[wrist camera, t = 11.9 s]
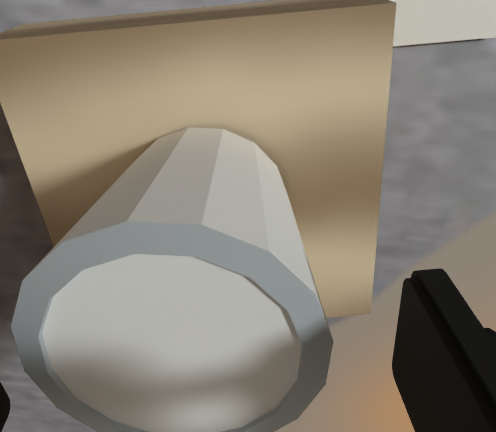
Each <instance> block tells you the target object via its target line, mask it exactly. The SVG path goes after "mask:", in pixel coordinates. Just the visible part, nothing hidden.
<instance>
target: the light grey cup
mask: <svg viewBox="0 0 496 432" xmlns="http://www.w3.org/2000/svg"><path fill="white" fill-rule="evenodd" d="M11 329H12V332H13V335H14V339H15V342H16V345H17V348H18V352H19V355H20V358H21V361H22V364H23V368H24V371H25V372H26V373H27V374H28V375H29V377H30V378H31V379H32V380H33V381H34V382H35V383H36V384H37V386H38V387H39V388H40V389H41V390H42V391H43V392H44V393H45V395H46V396H47V397H48V398H49V399H50V400H51V401H52V403H53V404H54V405H55V406H56V407H57V408H58V409H60V410H62V411H63V412H65V413H67V414H68V415H70V416H72V417H74V418H75V419H77V420H79V421H80V422H82V423H84V424H85V425H87V426H89V427H90V428H92V429H94V430H96V431H97V432H274V431H276V430H278V429H280V428H282V427H283V426H285V425H287V424H289V423H291V422H293V421H294V420H296V419H298V418H299V416H300V415H301V414H302V413H303V411H304V410H305V409H306V408H307V407H308V405H309V404H310V403H311V402H312V400H313V399H314V398H315V397H316V396H317V394H318V393H319V392H320V390H321V389H322V388H323V387H324V386H325V384H326V378H327V373H328V367H329V362H330V357H331V351H332V345H333V339H332V336H331V332H330V329H329V326H328V322H327V319H326V316H325V313H324V310H323V306H322V303H321V300H320V297H319V294H318V290H317V287H316V284H315V281H314V278H313V274H312V271H311V268H310V265H309V262H308V258H307V255H306V252H305V249H304V246H303V242H302V239H301V236H300V233H299V230H298V226H297V223H296V220H295V217H294V214H293V210H292V207H291V204H290V201H289V198H288V194H287V192H286V189H285V186H284V184H283V181H282V178H281V175H280V173H279V170H278V167H277V165H276V164H275V163H274V162H273V161H272V160H271V159H270V158H269V157H268V156H267V155H266V154H265V153H264V152H263V151H262V150H261V149H260V148H259V147H258V146H257V145H256V144H255V143H254V142H252V141H250V140H247V139H245V138H243V137H241V136H238V135H236V134H234V133H231V132H229V131H227V130H225V129H215V128H192V127H188V128H186V129H183V130H180V131H177V132H174V133H172V134H169V135H166V136H163V137H161V138H158V139H157V140H156V141H155V142H154V143H153V144H152V145H151V146H150V147H148V148H147V149H146V150H145V151H144V152H143V153H142V154H141V155H140V156H139V157H138V158H137V159H136V160H135V161H134V162H133V163H132V164H131V166H130V167H129V168H128V169H127V170H126V171H125V172H124V173H123V174H122V175H121V176H120V177H119V178H118V179H117V180H116V181H115V183H114V184H113V185H112V186H111V187H110V188H109V189H108V190H107V191H106V192H105V193H104V194H103V195H102V196H101V197H100V199H99V200H98V201H97V202H96V203H95V204H94V205H93V206H92V207H91V208H90V209H89V210H88V211H87V212H86V213H85V214H84V216H83V217H82V218H81V219H80V220H79V221H78V222H77V223H76V224H75V225H74V226H73V227H72V228H71V229H70V230H69V232H68V233H67V234H66V235H65V236H64V237H63V238H62V239H61V240H60V241H59V242H58V243H57V244H56V245H55V246H54V247H53V249H52V250H51V251H50V252H49V253H48V254H47V255H46V256H45V257H44V258H43V259H42V260H41V261H40V262H39V263H38V265H37V266H36V267H35V268H34V269H33V270H32V271H31V272H30V273H29V274H28V275H27V276H26V277H25V278H24V279H23V280H22V284H21V288H20V292H19V296H18V300H17V304H16V308H15V312H14V316H13V320H12V324H11Z"/></svg>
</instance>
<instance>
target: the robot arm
mask: <svg viewBox="0 0 496 432" xmlns="http://www.w3.org/2000/svg"><path fill="white" fill-rule="evenodd" d="M392 370H393V375H394V379H395V382H396V385H397V387H398V389H399V392H400V395H401V397H402V400H403V402H404V404H405V407H406V410H407V412H408V415H409V417H410V420H411V423H412V425H413V427H414V430H415V432H496V332H495V331H493V330H492V329H490V328H483V326H482V325H481V323H480V322H479V320H478V319H477V318H476V316H475V315H474V313H473V312H472V310H471V309H470V307H469V306H468V304H467V303H466V301H465V300H464V298H463V297H462V295H461V294H460V292H459V291H458V289H457V288H456V286H455V285H454V284H453V282H452V281H451V279H450V278H449V276H448V275H447V273H446V272H445V271H444V270H443V269H430V270H419V271H414V272H413V273H412V275H411V278H407V279H405V280H404V282H403V288H402V295H401V303H400V310H399V317H398V324H397V332H396V339H395V347H394V353H393V360H392ZM9 412H10V399H9V397H8V395H7V393H6V391H5V390H4V388H3V386H2V384H1V383H0V432H1V431H2V429H3V426H4V424H5V422H6V420H7V418H8V415H9Z"/></svg>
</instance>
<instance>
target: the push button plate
mask: <svg viewBox="0 0 496 432" xmlns="http://www.w3.org/2000/svg"><path fill="white" fill-rule="evenodd" d="M389 1H392V2H396V14H395V26H394V38H393V46H403V45H415V44H426V43H437V42H448V41H460V40H471V39H482V38H494V37H495V36H496V0H389Z"/></svg>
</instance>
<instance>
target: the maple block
mask: <svg viewBox="0 0 496 432" xmlns="http://www.w3.org/2000/svg"><path fill="white" fill-rule="evenodd" d="M395 14H396V2H392V1H389V0H277V1H266V2H255V3H245V4H234V5H223V6H212V7H202V8H191V9H180V10H169V11H158V12H148V13H137V14H126V15H115V16H105V17H94V18H83V19H72V20H62V21H51V22H40V23H29V24H23V25H20V26H17V27H15V28H12V29H10V30H7V31H4V32H2V33H0V103H1V106H2V109H3V111H4V114H5V117H6V119H7V122H8V125H9V127H10V130H11V133H12V136H13V138H14V141H15V144H16V146H17V149H18V152H19V154H20V157H21V160H22V163H23V165H24V168H25V171H26V173H27V176H28V179H29V181H30V184H31V187H32V190H33V192H34V195H35V198H36V200H37V203H38V206H39V208H40V211H41V214H42V217H43V219H44V222H45V225H46V227H47V230H48V233H49V235H50V238H51V241H52V243H53V246H55V245H56V244H57V243H58V242H59V241H60V240H61V239H62V238H63V237H64V236H65V235H66V234H67V233H68V232H69V230H70V229H71V228H72V227H73V226H74V225H75V224H76V223H77V222H78V221H79V220H80V219H81V218H82V217H83V216H84V214H85V213H86V212H87V211H88V210H89V209H90V208H91V207H92V206H93V205H94V204H95V203H96V202H97V201H98V200H99V199H100V197H101V196H102V195H103V194H104V193H105V192H106V191H107V190H108V189H109V188H110V187H111V186H112V185H113V184H114V183H115V181H116V180H117V179H118V178H119V177H120V176H121V175H122V174H123V173H124V172H125V171H126V170H127V169H128V168H129V167H130V166H131V164H132V163H133V162H134V161H135V160H136V159H137V158H138V157H139V156H140V155H141V154H142V153H143V152H144V151H145V150H146V149H147V148H148V147H150V146H151V145H152V144H153V143H154V142H155V141H156V140H157V139H158V138H161V137H163V136H166V135H169V134H172V133H174V132H177V131H180V130H183V129H186V128H188V127H192V128H215V129H225V130H227V131H229V132H231V133H234V134H236V135H238V136H241V137H243V138H245V139H247V140H250V141H252V142H254V143H255V144H256V145H257V146H258V147H259V148H260V149H261V150H262V151H263V152H264V153H265V154H266V155H267V156H268V157H269V158H270V159H271V160H272V161H273V162H274V163H275V164H276V165H277V167H278V170H279V173H280V175H281V178H282V181H283V184H284V186H285V189H286V192H287V194H288V198H289V201H290V204H291V207H292V210H293V214H294V217H295V220H296V223H297V226H298V230H299V233H300V236H301V239H302V242H303V246H304V249H305V252H306V255H307V258H308V262H309V265H310V268H311V271H312V274H313V278H314V281H315V284H316V287H317V290H318V294H319V297H320V300H321V303H322V306H323V310H324V313H325V316H326V318H331V317H342V316H353V315H363V314H370V313H371V302H372V290H373V278H374V266H375V254H376V242H377V230H378V218H379V206H380V194H381V182H382V170H383V158H384V146H385V134H386V122H387V110H388V98H389V86H390V74H391V62H392V50H393V38H394V26H395Z"/></svg>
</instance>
